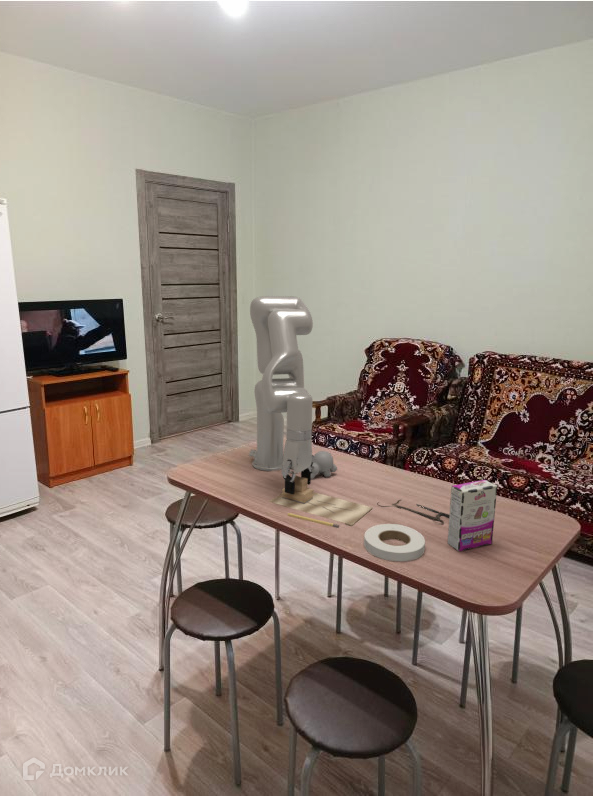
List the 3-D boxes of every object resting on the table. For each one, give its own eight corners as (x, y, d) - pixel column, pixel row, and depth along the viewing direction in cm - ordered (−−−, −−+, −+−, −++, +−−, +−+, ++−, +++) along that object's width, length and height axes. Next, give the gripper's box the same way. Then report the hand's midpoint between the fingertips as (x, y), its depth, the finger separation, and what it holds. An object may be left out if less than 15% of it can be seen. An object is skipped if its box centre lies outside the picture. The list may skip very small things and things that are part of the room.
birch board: (268, 502, 165) (268, 501, 165) (293, 487, 177) (293, 486, 177) (351, 526, 151) (351, 524, 151) (372, 508, 162) (372, 507, 162)
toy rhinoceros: (302, 483, 188) (295, 463, 184) (327, 464, 194) (320, 444, 190) (316, 489, 182) (309, 469, 179) (341, 469, 188) (334, 449, 184)
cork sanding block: (282, 498, 168) (282, 478, 166) (290, 492, 172) (291, 473, 170) (304, 504, 164) (304, 483, 162) (312, 498, 168) (313, 478, 166)
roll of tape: (432, 562, 134) (433, 551, 133) (370, 563, 132) (371, 552, 132) (414, 532, 149) (415, 523, 148) (359, 533, 147) (359, 523, 147)
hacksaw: (463, 522, 155) (463, 517, 155) (442, 533, 149) (443, 528, 148) (394, 496, 173) (395, 492, 172) (374, 505, 166) (374, 500, 166)
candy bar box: (479, 536, 147) (485, 478, 143) (492, 544, 142) (499, 485, 139) (445, 543, 142) (450, 484, 139) (458, 552, 138) (464, 491, 134)
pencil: (287, 516, 156) (287, 514, 156) (288, 515, 157) (288, 512, 156) (338, 528, 149) (338, 526, 149) (339, 527, 150) (339, 524, 150)
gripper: (303, 425, 172) (302, 477, 176) (272, 439, 158) (271, 494, 162) (324, 429, 168) (322, 482, 172) (294, 443, 154) (293, 500, 158)
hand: (297, 488), depth 167 cm, fingers open, 8 cm apart
